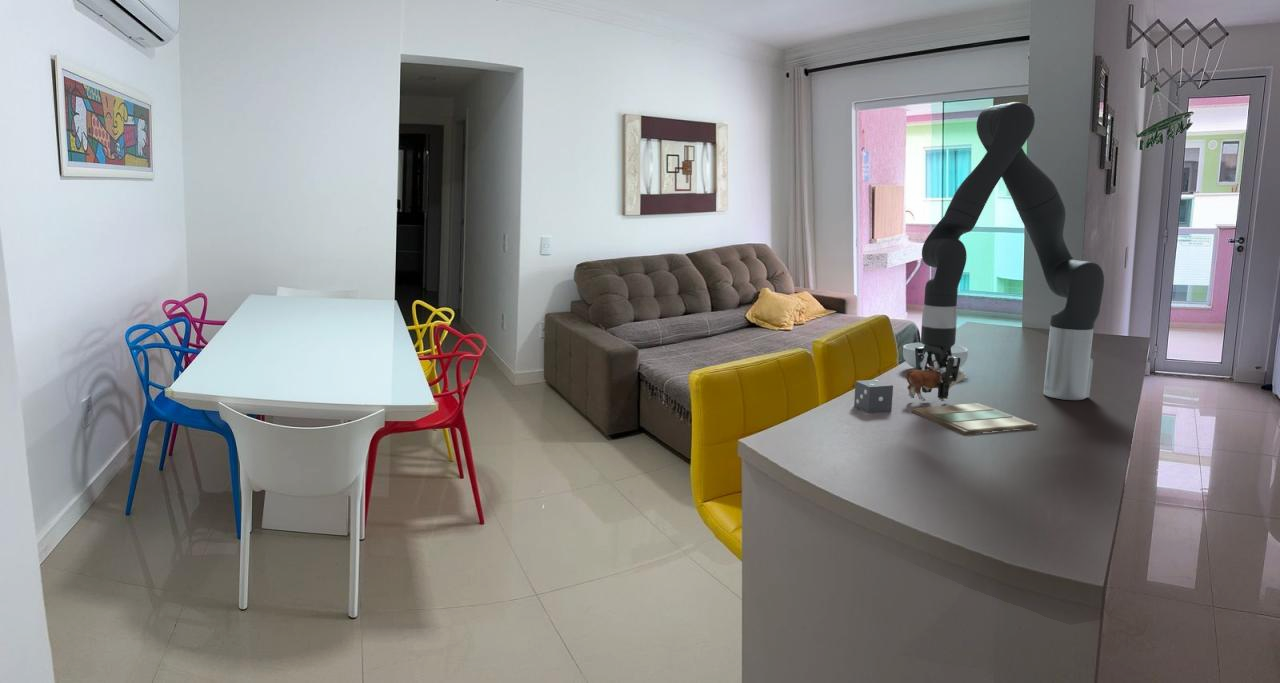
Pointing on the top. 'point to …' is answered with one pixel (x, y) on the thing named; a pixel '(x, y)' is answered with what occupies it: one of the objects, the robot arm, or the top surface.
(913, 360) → the cereal bowl
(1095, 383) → the top surface
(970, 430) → the paneled room divider
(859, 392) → the die
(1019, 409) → the top surface
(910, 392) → the bull figurine
